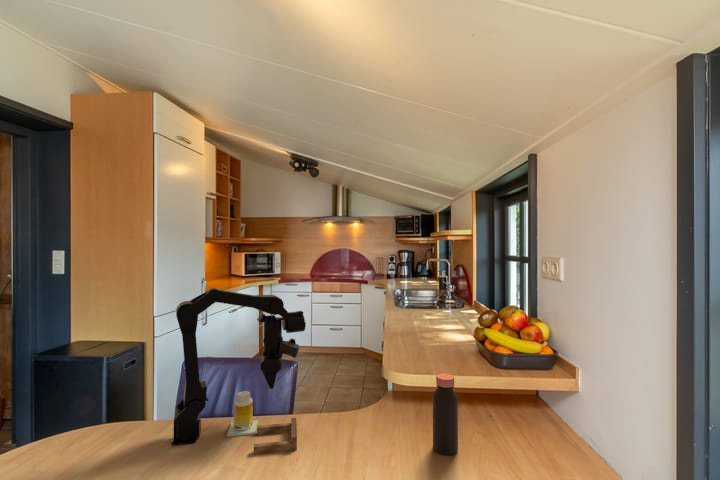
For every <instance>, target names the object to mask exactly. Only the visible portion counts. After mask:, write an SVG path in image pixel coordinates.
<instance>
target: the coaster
mask: <svg viewBox="0 0 720 480" xmlns="http://www.w3.org/2000/svg"><path fill="white" fill-rule="evenodd" d="M258 421H259V420H258V419H253V423H252V426H251V427H250V428H249V429H247V430H242V431H239V430H236V429H235V428H234V421H231V423H230V426H229V429H228V432H227V436H226V437H227V438H228V437H240V436H251V435H257V426H258Z"/></svg>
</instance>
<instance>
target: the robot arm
mask: <svg viewBox="0 0 720 480" xmlns="http://www.w3.org/2000/svg"><path fill="white" fill-rule="evenodd" d="M215 303H220V304H227V305H231V306H240V307H245V308H252V309H255V310H257V311H260V312H264V313H261V315H260V316H259V317H258V318H256V320H257V321H258V323H263V339H262V343H263V352H262V356H263V358H262V359H261V360H260V371H261V372H262V374H263V377H264V379H265V380H266V383H267V385H268V387H269V389H274V388H275V383H276V377H277V374H278V372H279V371H281V370H282V369H283V354H284V355H287V356H290V357H292V358H297V356H298V354H299V351H300V345H299V343H297V342H296V339H295V338H290V339H289V340H284V338H283V337H284V336H282V331H285V333H286V334H290V333H291V334H292V333H301V332H305V330H306V327H307V326H306V325H307V324H306V320H305V319H306V318H305V316H304V311H302V310H297V311H292V312H288V310H287V309H286V308H285V307H284V305H285V303H284V300H283V299H282V298H281V297H279V296H276V295H274V294H258V295H256V294H255V295H254V294H248V293H242V292H235V291H231V290H230V291H229V290H225V289H224V290H223V289H218V288H217V287H211V288H209V289H207V290H206V291H205V292H203V293H201V294H199V295H197V296H195V297H194V298H192V299H190V300H185V301H181V302H179V304H178V305H177V306H176V309H175V315H176V319H177V323H178V326H179V329H180V334H181V336H182V347H183V348H182V349H183V360H184V361H183V363H184V370H185V371H184V372H185V373H184V374H185V383H184V389H183V390H184V391H183V398H182V400H181V401H180V402H178V404H177V405H176V406H175V418H174V420H173V439H172V441H171V446H177V445H187V444H195V443H196V442H197V441H198V439H199V438H200V436H201V434H202V419H201V418H200V413H201V412H202V411H203V410H204V409H205V408H206V406H207V405H206V403H207V402H208V401H209V398H208V394H207V393H208V392H207V391H208V387H207V382H206V380H203V381H201V380H200V369H199V359H198V347H197V346H198V345H197V334H196V332H197V327H198V320H199V315H201V314H202V313H203V312H204V311H206V310H207V309H208V308H209V307H211V306H212V305H214V304H215ZM265 313H267V314H269V315H266V314H265ZM276 315H277V316H279V317H276Z"/></svg>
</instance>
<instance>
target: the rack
mask: <svg viewBox="0 0 720 480" xmlns="http://www.w3.org/2000/svg"><path fill="white" fill-rule="evenodd" d="M290 419H291V420H290V422H286V423H285V422H284V423H274V424H272V423H271V424H263V425H262V424H261V425H257V428H256V435H257V436H261V435H262V436H263V435H269V434H270V433H273V434H281V432H284V433H291V434H290V438H291V439H290V440H284V441H283V440H281V441H273V442H272V441H271V442H260V443H254V444H253V455H262V454H271V453H272V454H273V453H281V452H282V453H283V452H292V451H297V450H298V433H297V432H298V428H297V417H291V418H290ZM279 432H280V433H279Z"/></svg>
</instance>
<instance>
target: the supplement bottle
mask: <svg viewBox="0 0 720 480" xmlns="http://www.w3.org/2000/svg"><path fill="white" fill-rule="evenodd" d="M253 402H254V400H253V398H252V397H251V392H250V391H248V390H243V391H239V392H237V394H236V399H234V401H233V422H234V428H235V429H236V430H239V431H242V430H247V429H249V428H250V427H251V426H252V423H253V420H254V419H253V418H254V417H253V416H254V414H253V412H254V411H253V405H254V403H253Z"/></svg>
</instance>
